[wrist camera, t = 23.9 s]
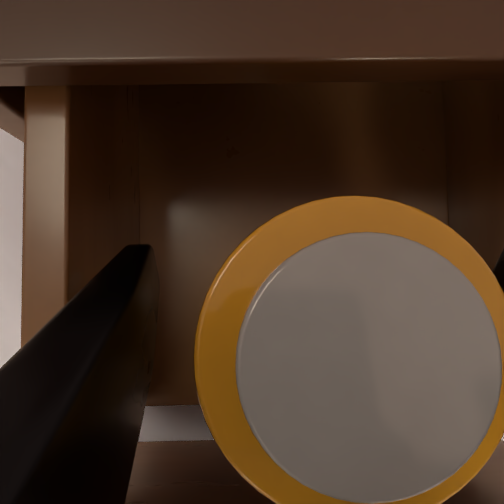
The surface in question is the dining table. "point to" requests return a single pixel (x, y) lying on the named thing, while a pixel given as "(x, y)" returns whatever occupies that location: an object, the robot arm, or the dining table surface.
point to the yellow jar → (353, 356)
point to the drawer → (237, 208)
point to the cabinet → (242, 43)
